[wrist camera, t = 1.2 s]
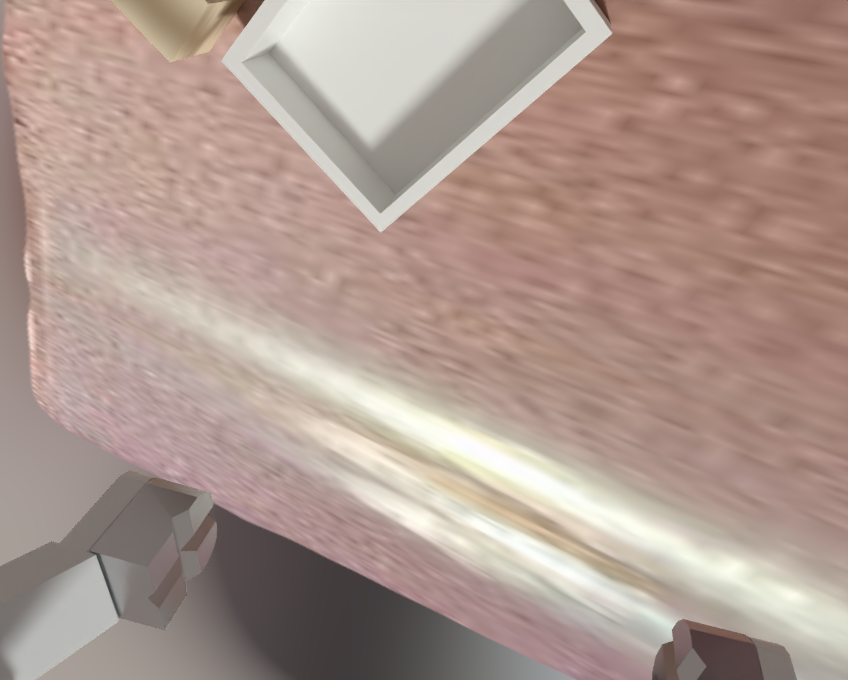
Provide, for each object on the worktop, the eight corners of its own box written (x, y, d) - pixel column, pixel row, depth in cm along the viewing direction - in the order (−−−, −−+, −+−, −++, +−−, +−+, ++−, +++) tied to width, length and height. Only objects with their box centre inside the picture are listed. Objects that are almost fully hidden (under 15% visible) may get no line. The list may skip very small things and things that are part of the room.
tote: (450, -207, 32) (429, -229, 28) (610, 23, 36) (612, 33, 32) (257, 49, 42) (221, 60, 38) (399, 207, 46) (380, 232, 42)
